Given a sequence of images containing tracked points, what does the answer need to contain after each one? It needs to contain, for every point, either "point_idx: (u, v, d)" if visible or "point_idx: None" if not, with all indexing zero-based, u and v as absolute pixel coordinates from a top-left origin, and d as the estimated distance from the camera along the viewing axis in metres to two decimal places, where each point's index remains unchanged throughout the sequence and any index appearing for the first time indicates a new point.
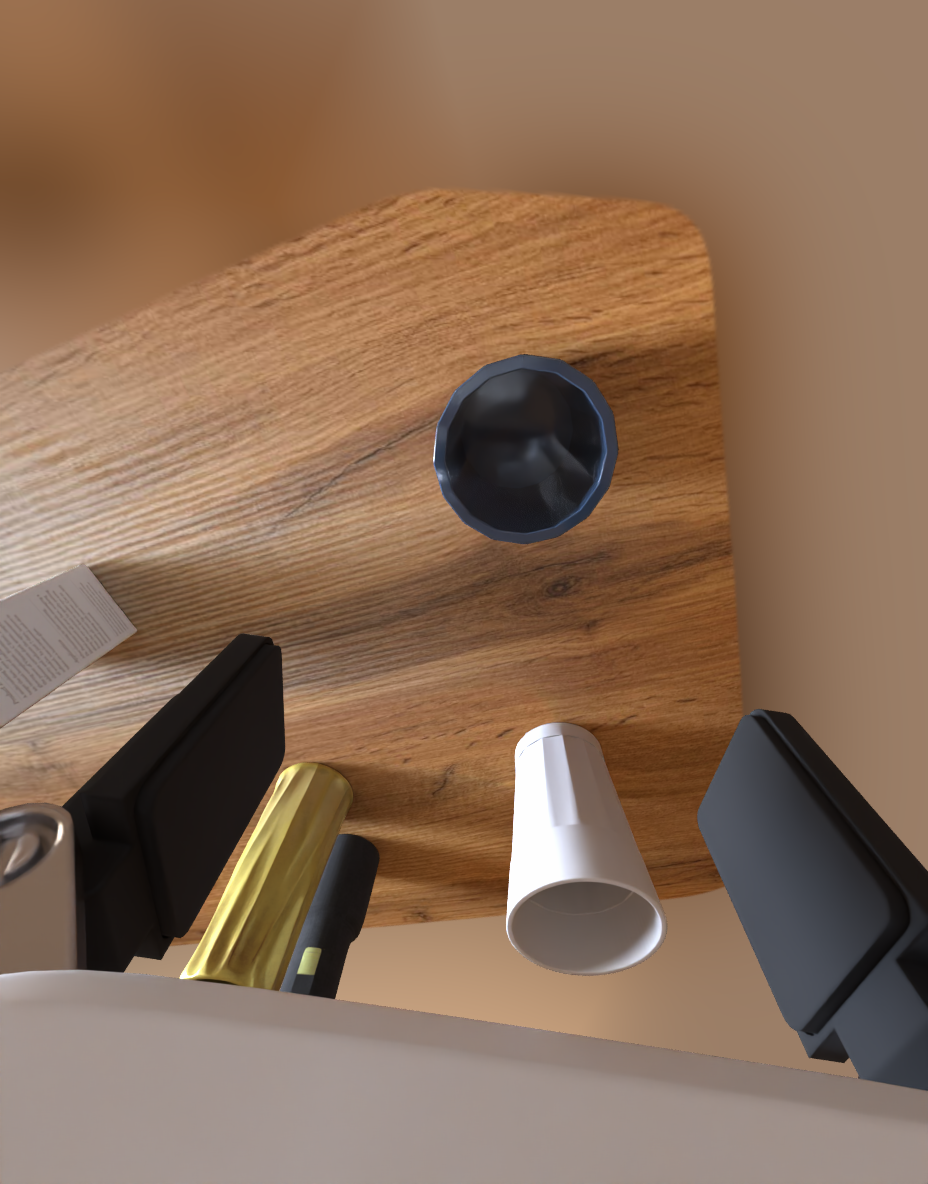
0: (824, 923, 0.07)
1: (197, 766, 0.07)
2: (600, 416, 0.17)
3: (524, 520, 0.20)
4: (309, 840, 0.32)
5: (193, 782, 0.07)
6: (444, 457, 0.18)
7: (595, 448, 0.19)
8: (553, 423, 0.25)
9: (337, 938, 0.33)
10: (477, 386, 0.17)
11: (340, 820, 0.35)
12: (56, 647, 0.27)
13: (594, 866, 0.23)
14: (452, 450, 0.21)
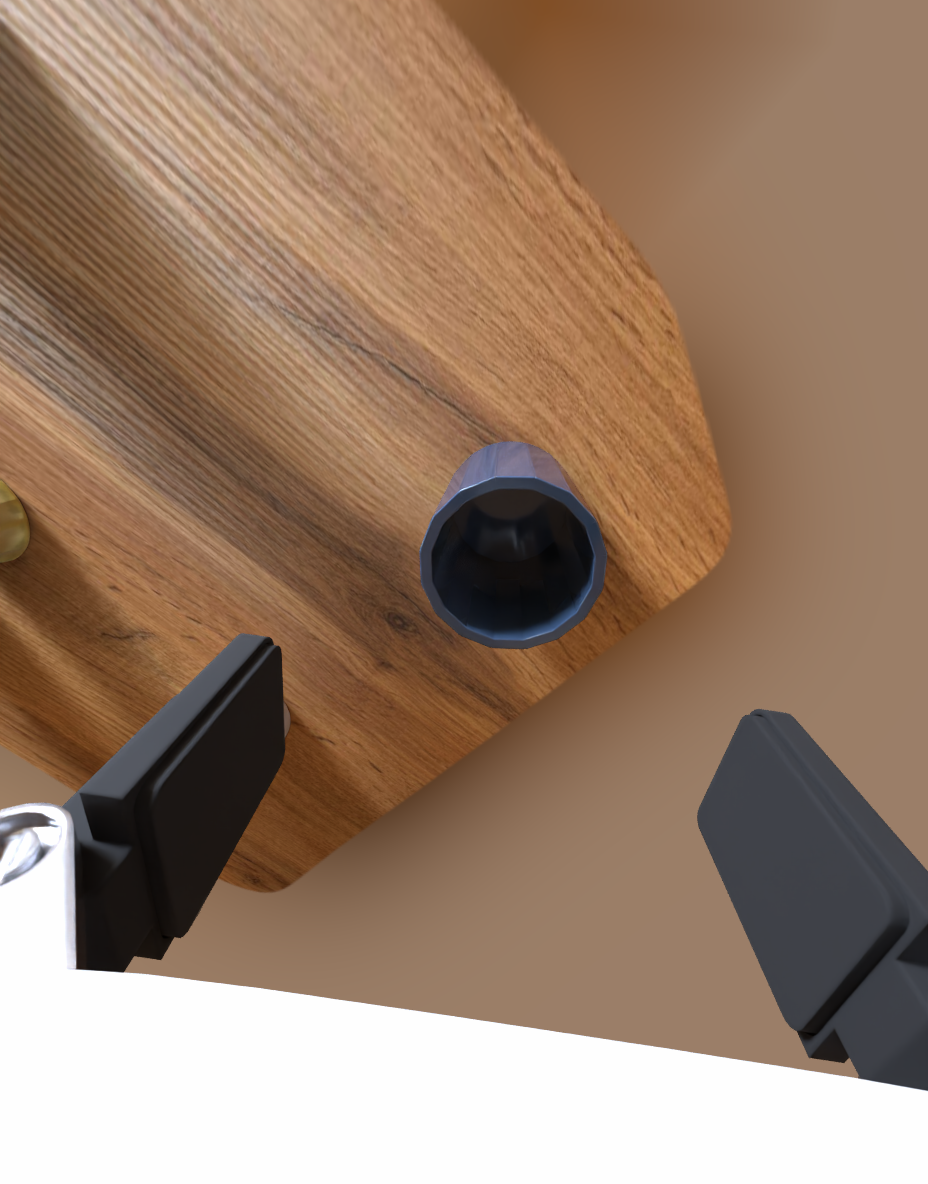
0: (824, 923, 0.07)
1: (197, 766, 0.07)
2: (577, 610, 0.18)
3: (451, 588, 0.20)
4: None
5: (193, 782, 0.07)
6: (469, 499, 0.16)
7: (545, 609, 0.20)
8: (534, 536, 0.25)
9: None
10: (550, 495, 0.16)
11: None
12: None
13: None
14: None
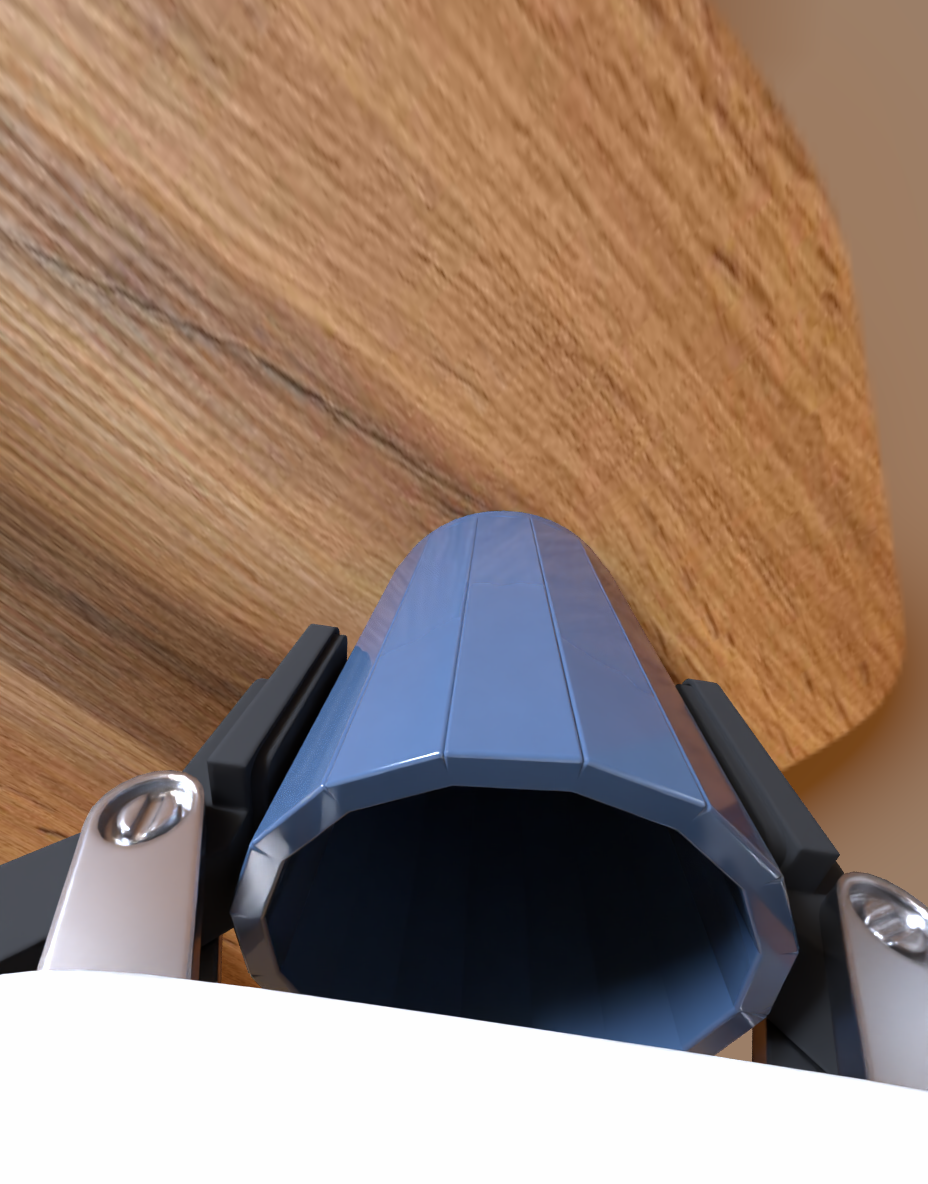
0: None
1: (293, 741, 0.07)
2: (688, 1046, 0.06)
3: (362, 888, 0.08)
4: None
5: (290, 756, 0.07)
6: (361, 806, 0.05)
7: (582, 933, 0.08)
8: None
9: None
10: (633, 811, 0.05)
11: None
12: None
13: None
14: None
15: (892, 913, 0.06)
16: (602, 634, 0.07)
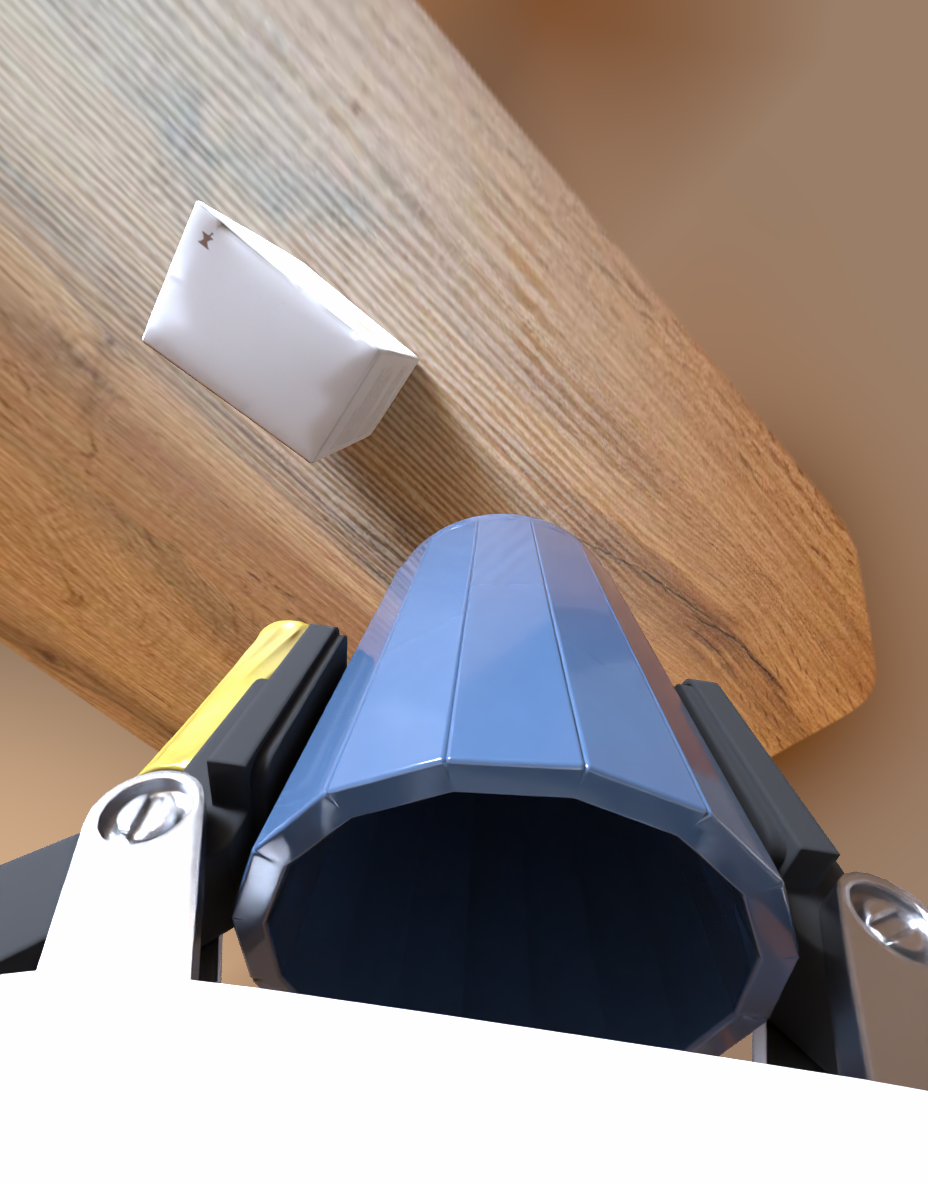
0: None
1: (293, 741, 0.07)
2: (689, 1050, 0.06)
3: (363, 892, 0.08)
4: None
5: (290, 756, 0.07)
6: (363, 812, 0.05)
7: (583, 936, 0.09)
8: None
9: None
10: (634, 817, 0.05)
11: None
12: (366, 418, 0.24)
13: None
14: None
15: (892, 913, 0.06)
16: (603, 638, 0.07)
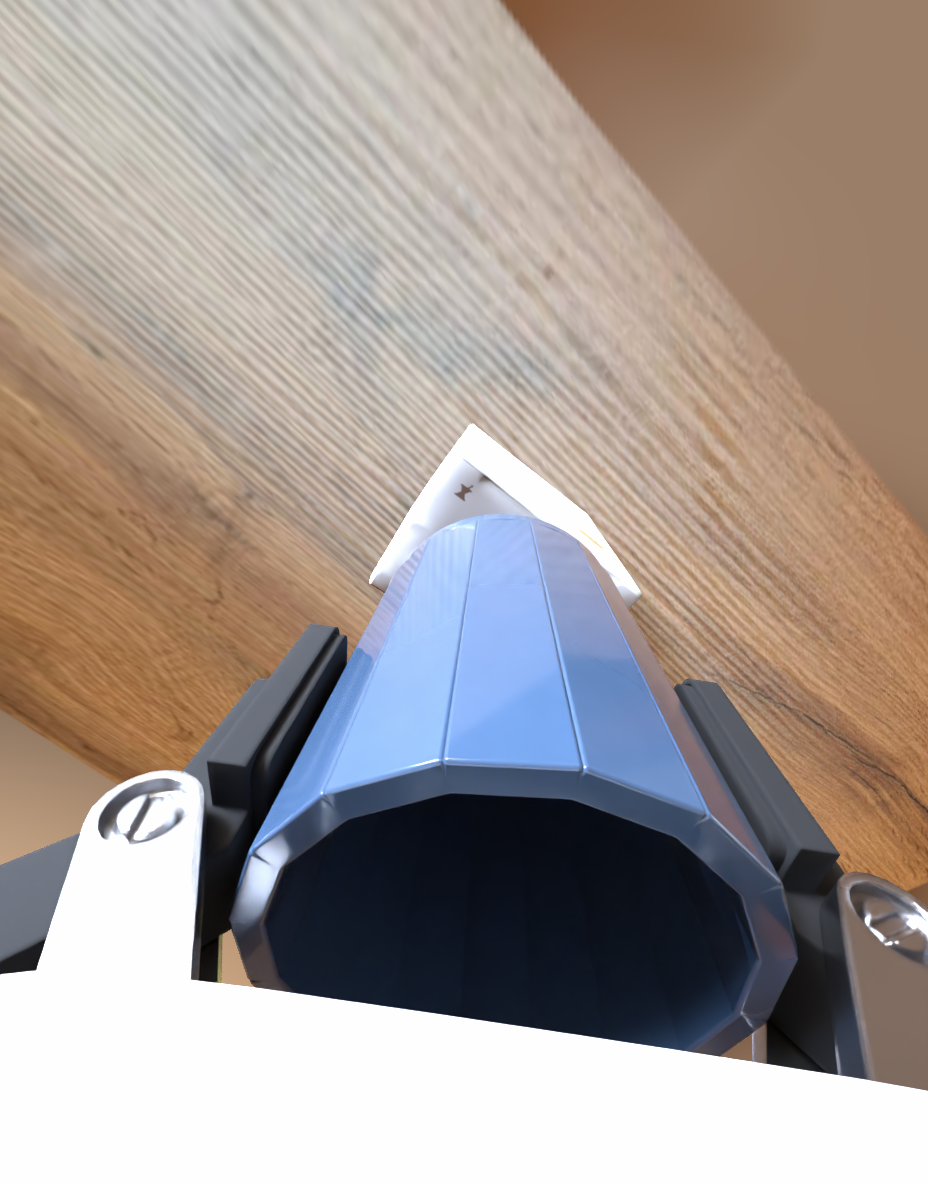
0: None
1: (293, 741, 0.07)
2: None
3: (361, 892, 0.08)
4: None
5: (290, 756, 0.07)
6: (360, 813, 0.05)
7: (581, 937, 0.08)
8: None
9: None
10: (632, 818, 0.05)
11: None
12: None
13: None
14: None
15: (892, 913, 0.06)
16: (601, 639, 0.07)
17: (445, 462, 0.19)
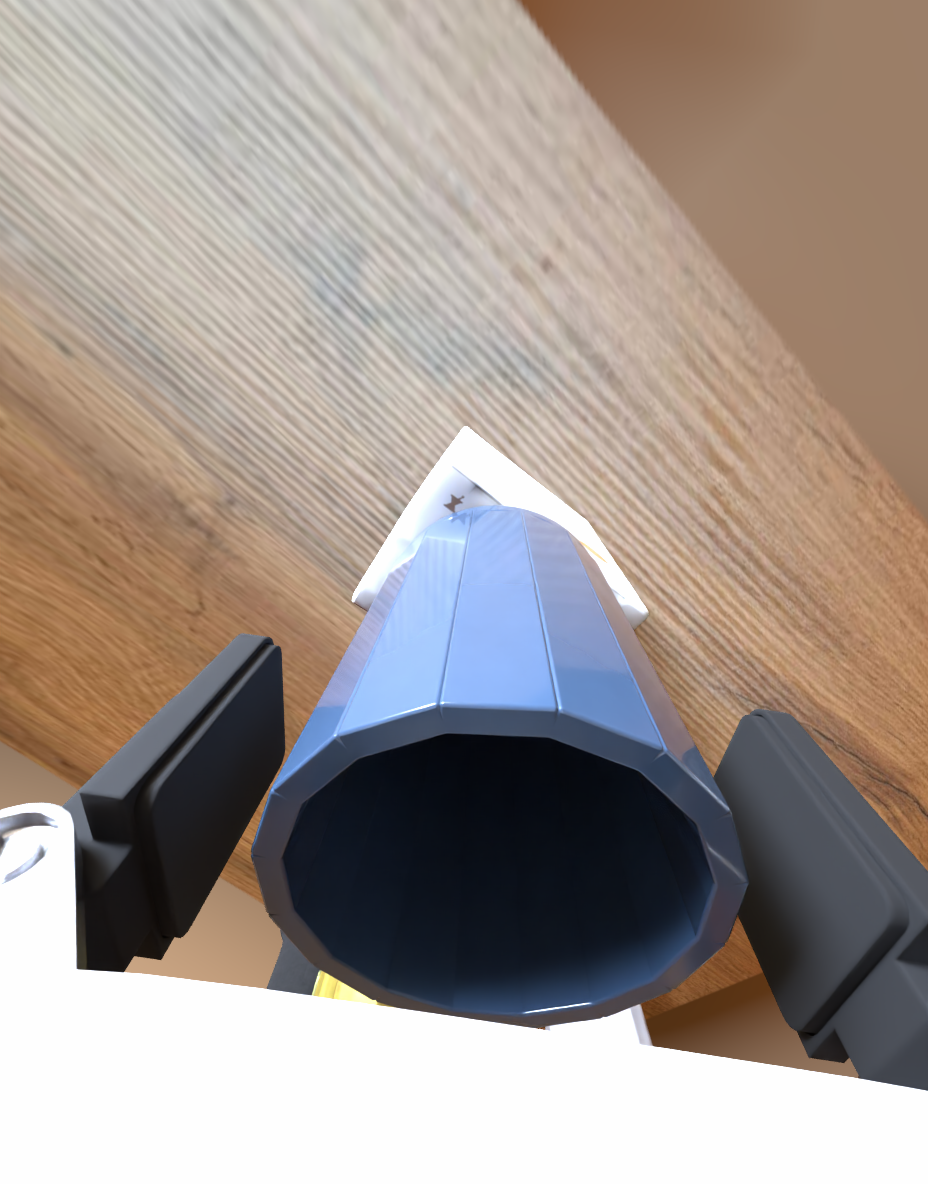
0: (824, 923, 0.07)
1: (197, 766, 0.07)
2: (657, 976, 0.07)
3: (366, 848, 0.09)
4: None
5: (193, 782, 0.07)
6: (368, 753, 0.06)
7: (567, 889, 0.09)
8: None
9: None
10: (601, 754, 0.05)
11: None
12: None
13: None
14: None
15: None
16: (582, 613, 0.08)
17: (435, 468, 0.17)
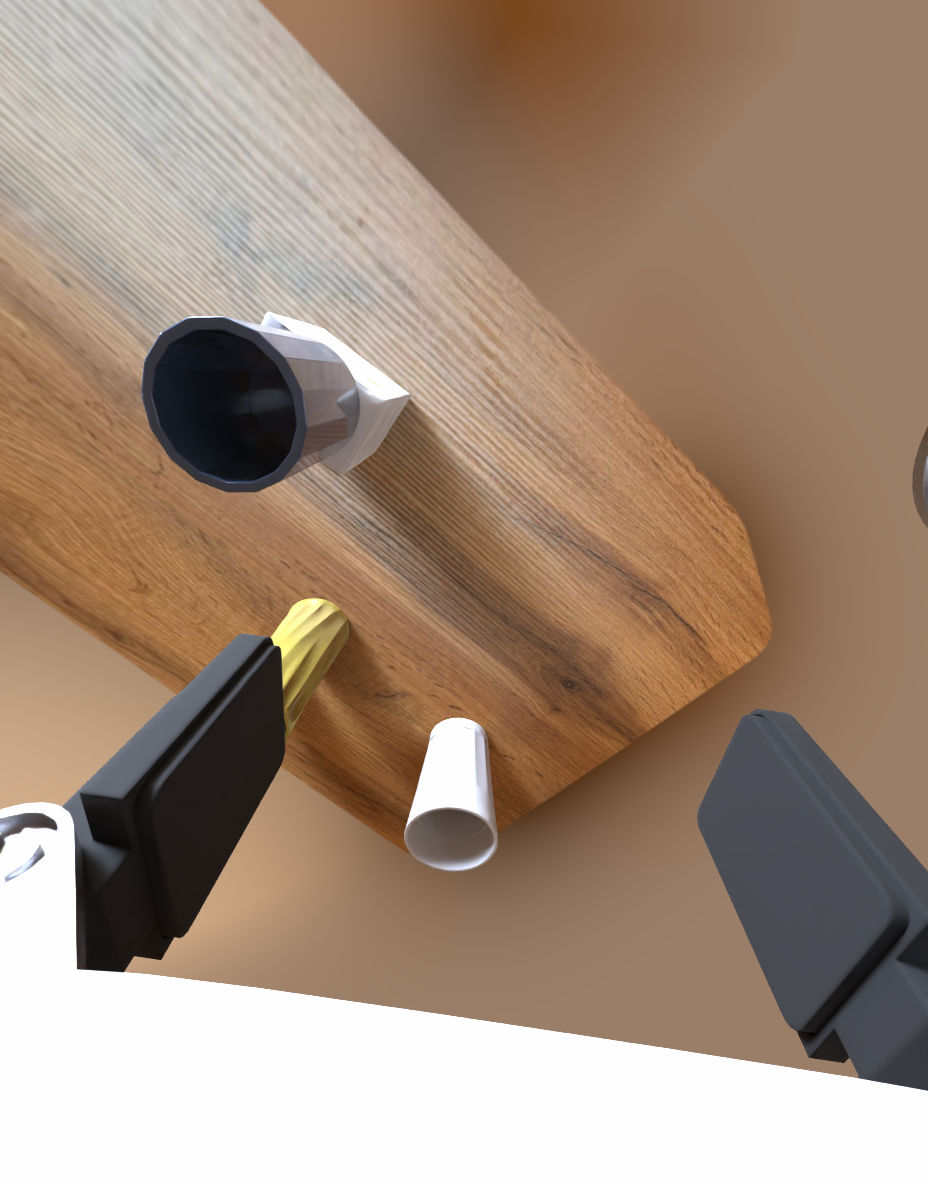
0: (824, 923, 0.07)
1: (197, 766, 0.07)
2: (291, 449, 0.20)
3: (202, 447, 0.22)
4: (327, 665, 0.41)
5: (193, 782, 0.07)
6: (172, 340, 0.18)
7: None
8: None
9: None
10: (239, 334, 0.18)
11: None
12: (374, 442, 0.33)
13: (492, 820, 0.40)
14: (212, 348, 0.21)
15: None
16: (275, 331, 0.21)
17: None
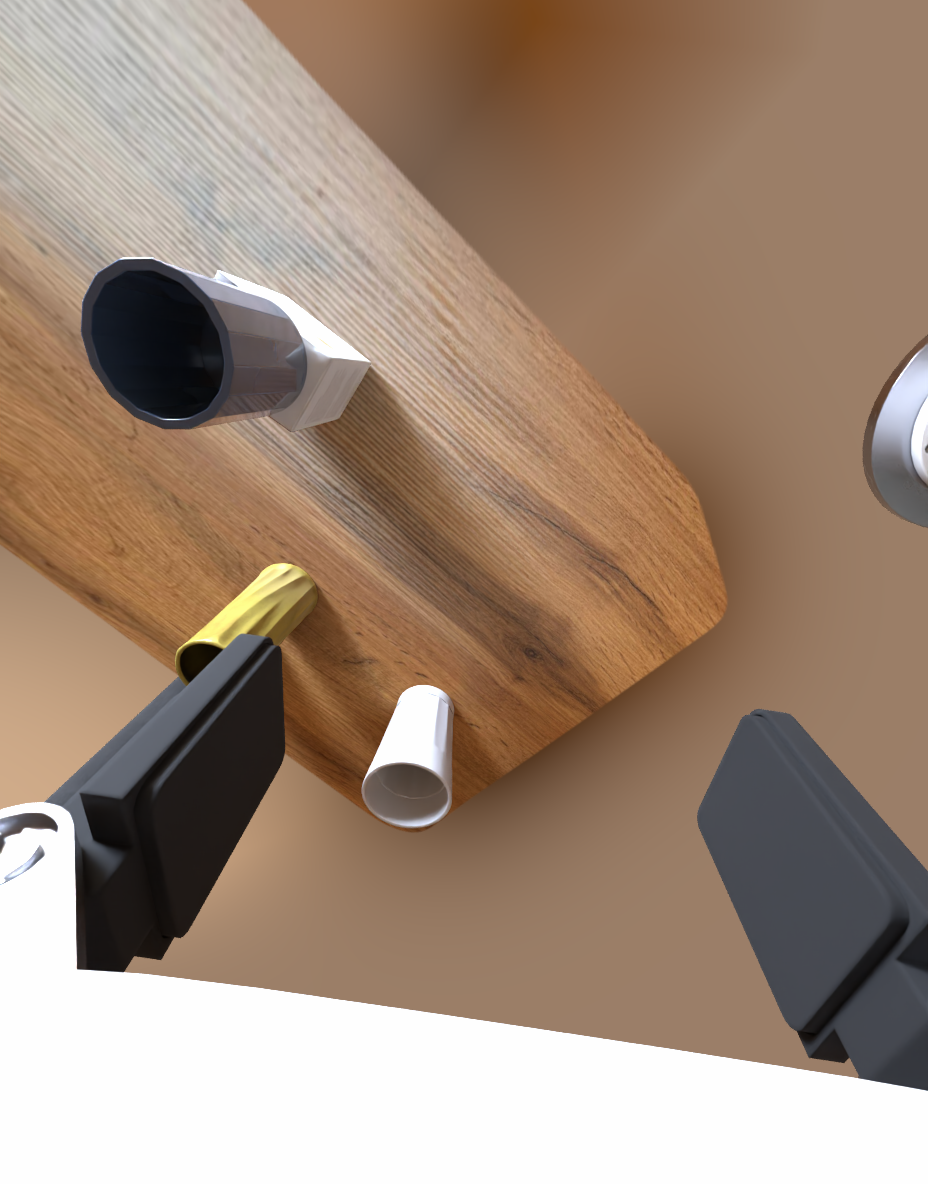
0: (823, 922, 0.07)
1: (197, 766, 0.07)
2: (220, 387, 0.21)
3: (145, 389, 0.23)
4: (291, 625, 0.42)
5: (193, 782, 0.07)
6: (107, 281, 0.20)
7: None
8: None
9: None
10: (167, 275, 0.20)
11: None
12: (331, 404, 0.35)
13: (446, 776, 0.41)
14: (153, 295, 0.23)
15: None
16: (210, 279, 0.22)
17: None
